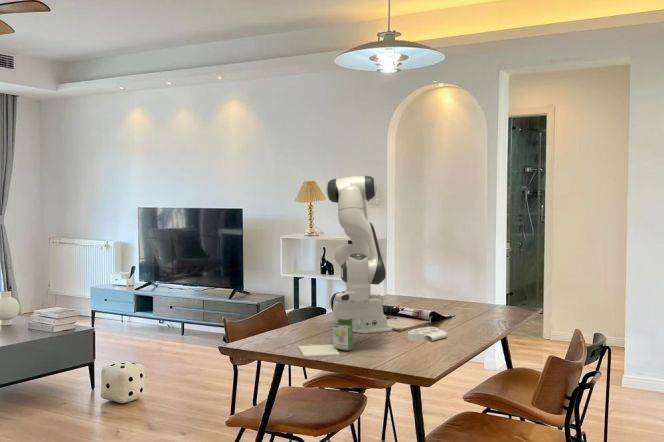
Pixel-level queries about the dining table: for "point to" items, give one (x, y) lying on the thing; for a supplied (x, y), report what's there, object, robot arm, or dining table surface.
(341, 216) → the robot arm
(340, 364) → the dining table surface
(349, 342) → the ink box
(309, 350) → the mat
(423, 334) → the folded white cloth
